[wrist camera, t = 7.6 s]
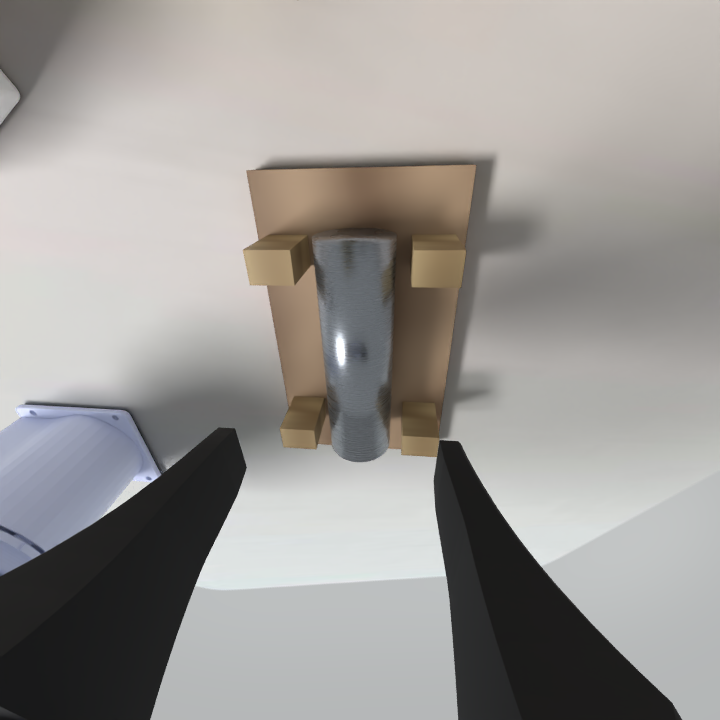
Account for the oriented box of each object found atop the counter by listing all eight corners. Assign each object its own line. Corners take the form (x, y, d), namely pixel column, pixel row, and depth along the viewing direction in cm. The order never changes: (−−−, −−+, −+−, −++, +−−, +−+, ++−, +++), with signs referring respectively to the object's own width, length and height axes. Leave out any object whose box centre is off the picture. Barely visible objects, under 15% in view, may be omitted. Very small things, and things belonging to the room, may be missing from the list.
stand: (298, 432, 25) (282, 476, 21) (254, 169, 16) (214, 174, 12) (434, 440, 24) (440, 488, 20) (471, 164, 15) (493, 167, 11)
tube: (336, 418, 22) (326, 460, 19) (320, 228, 16) (302, 245, 13) (390, 420, 22) (389, 463, 19) (396, 227, 15) (397, 245, 12)
